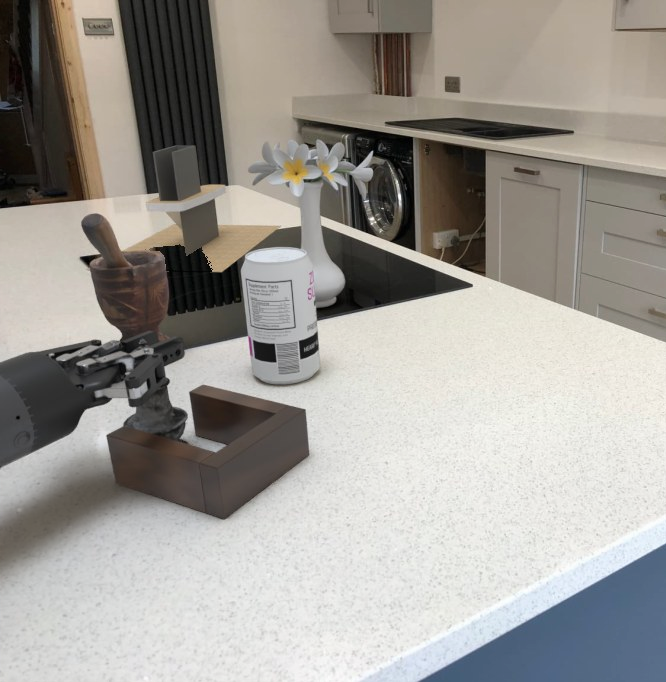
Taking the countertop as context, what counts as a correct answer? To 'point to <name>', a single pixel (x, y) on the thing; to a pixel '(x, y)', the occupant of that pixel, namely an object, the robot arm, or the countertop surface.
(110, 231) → the mortar and pestle
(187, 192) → the architectural model
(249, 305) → the supplement can
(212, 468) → the stand
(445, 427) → the countertop surface
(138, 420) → the salt shaker
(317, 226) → the flower vase
